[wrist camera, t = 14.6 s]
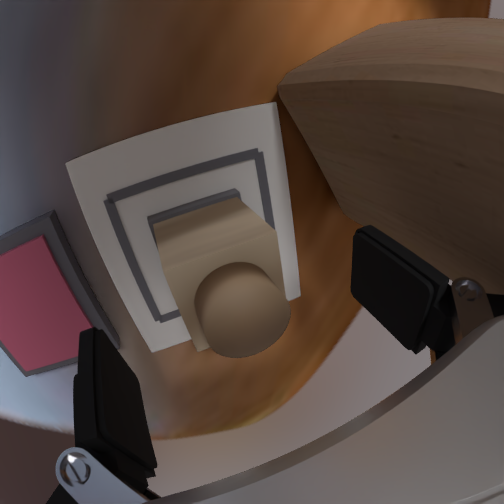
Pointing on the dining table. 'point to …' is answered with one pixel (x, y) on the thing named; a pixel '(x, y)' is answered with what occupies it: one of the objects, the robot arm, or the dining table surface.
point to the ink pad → (44, 298)
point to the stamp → (223, 273)
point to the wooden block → (414, 137)
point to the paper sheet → (180, 201)
